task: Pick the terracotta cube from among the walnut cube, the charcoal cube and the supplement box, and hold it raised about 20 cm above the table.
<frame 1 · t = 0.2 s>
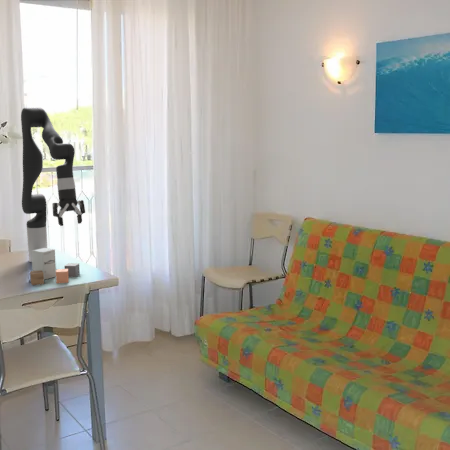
hand: (70, 224, 271), 23 cm above the table, tool pointing down, fingers open, 8 cm apart
charcoal cube: (72, 275, 274), on the table
terracotta cube: (62, 281, 264), on the table
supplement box: (44, 277, 271), on the table
walnut cube: (37, 283, 261), on the table
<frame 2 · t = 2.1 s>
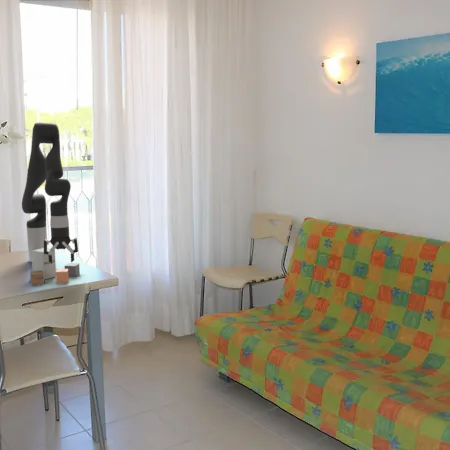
hand: (61, 262, 262), 8 cm above the table, tool pointing down, fingers open, 8 cm apart
nothing on the table moved.
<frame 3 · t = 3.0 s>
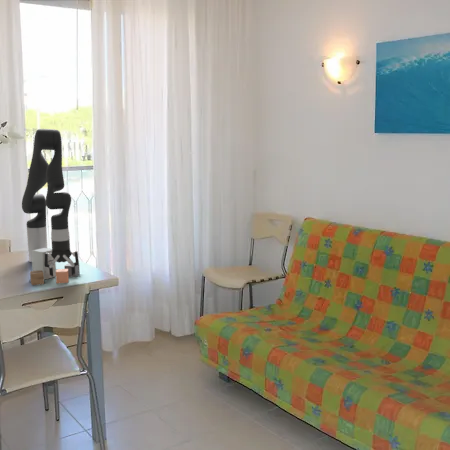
hand: (62, 275, 263), 3 cm above the table, tool pointing down, fingers open, 8 cm apart
nothing on the table moved.
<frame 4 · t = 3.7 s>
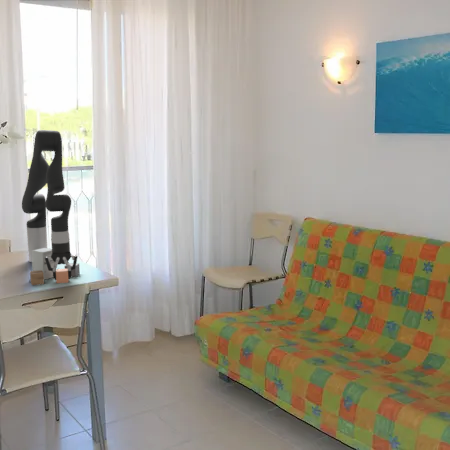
hand: (62, 279, 264), 1 cm above the table, tool pointing down, fingers closed on terracotta cube, 5 cm apart
terracotta cube: (62, 281, 264), on the table, touching gripper
everything else where it was.
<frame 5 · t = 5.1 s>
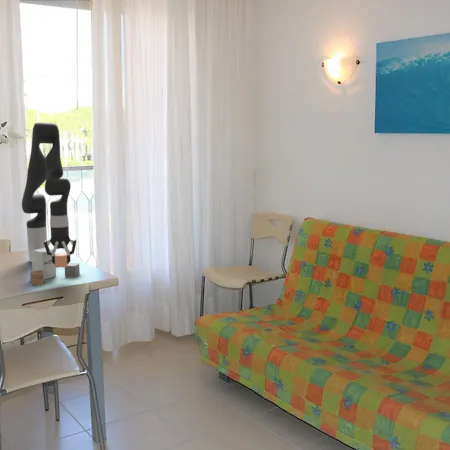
hand: (61, 263, 263), 8 cm above the table, tool pointing down, fingers closed on terracotta cube, 5 cm apart
terracotta cube: (61, 265, 263), point 7 cm above the table, touching gripper
everything else where it was.
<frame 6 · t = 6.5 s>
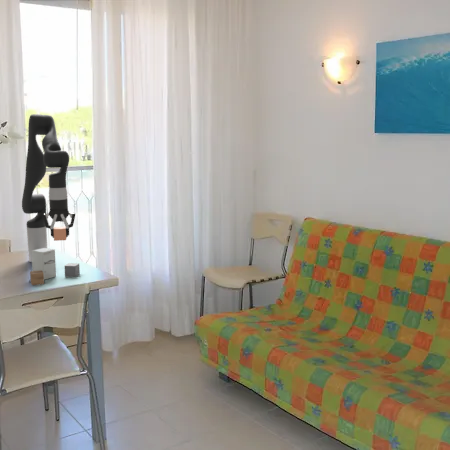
hand: (60, 236, 261), 19 cm above the table, tool pointing down, fingers closed on terracotta cube, 5 cm apart
terracotta cube: (60, 239, 261), point 18 cm above the table, touching gripper
everything else where it was.
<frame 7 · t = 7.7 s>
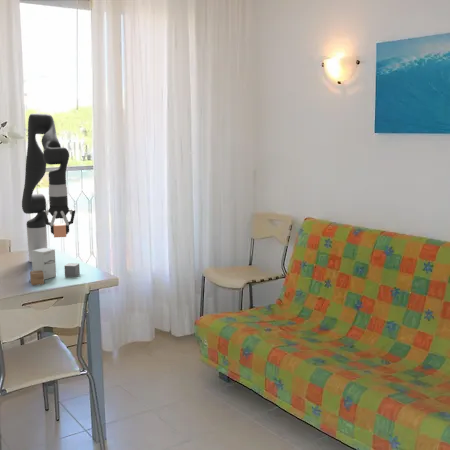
hand: (60, 233, 261), 21 cm above the table, tool pointing down, fingers closed on terracotta cube, 5 cm apart
terracotta cube: (60, 236, 261), point 20 cm above the table, touching gripper
everything else where it was.
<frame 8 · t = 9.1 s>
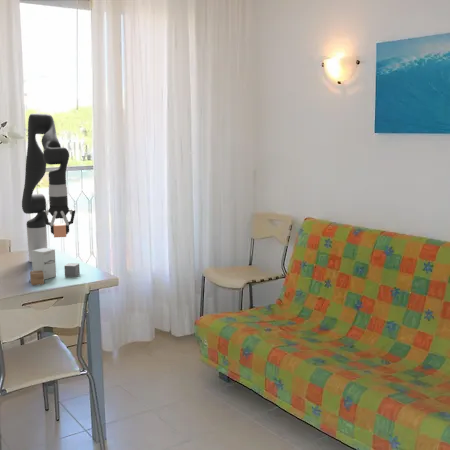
hand: (60, 233, 261), 21 cm above the table, tool pointing down, fingers closed on terracotta cube, 5 cm apart
terracotta cube: (60, 236, 261), point 20 cm above the table, touching gripper
everything else where it was.
at the end: the gripper is holding terracotta cube; terracotta cube point 19.8 cm above the table; walnut cube moved 0.1 cm from its start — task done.
